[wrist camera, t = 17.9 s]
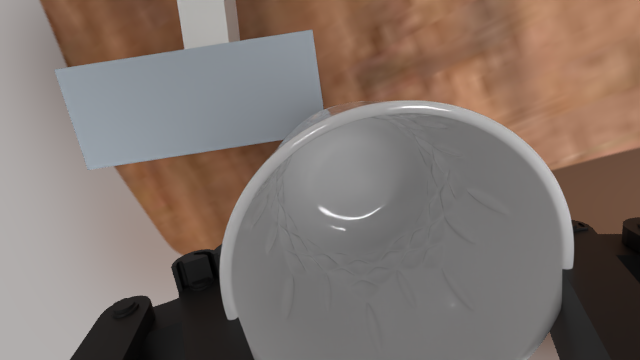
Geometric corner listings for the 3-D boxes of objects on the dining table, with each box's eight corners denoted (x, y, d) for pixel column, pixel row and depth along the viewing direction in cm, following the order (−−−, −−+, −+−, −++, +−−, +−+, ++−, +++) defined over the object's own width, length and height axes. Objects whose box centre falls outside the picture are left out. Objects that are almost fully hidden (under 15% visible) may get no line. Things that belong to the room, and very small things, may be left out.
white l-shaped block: (157, -47, 30) (126, -75, 25) (261, -52, 30) (252, -81, 25) (187, 136, 34) (165, 146, 29) (278, 130, 35) (273, 139, 29)
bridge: (151, 75, 33) (54, 69, 20) (309, 51, 33) (312, 29, 20) (168, 138, 34) (88, 169, 22) (319, 115, 34) (327, 132, 22)
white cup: (235, 165, 17) (141, 268, 7) (361, 55, 16) (441, 8, 6) (338, 273, 19) (369, 471, 9) (458, 180, 18) (638, 296, 8)
